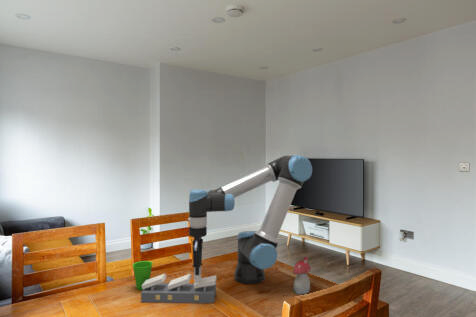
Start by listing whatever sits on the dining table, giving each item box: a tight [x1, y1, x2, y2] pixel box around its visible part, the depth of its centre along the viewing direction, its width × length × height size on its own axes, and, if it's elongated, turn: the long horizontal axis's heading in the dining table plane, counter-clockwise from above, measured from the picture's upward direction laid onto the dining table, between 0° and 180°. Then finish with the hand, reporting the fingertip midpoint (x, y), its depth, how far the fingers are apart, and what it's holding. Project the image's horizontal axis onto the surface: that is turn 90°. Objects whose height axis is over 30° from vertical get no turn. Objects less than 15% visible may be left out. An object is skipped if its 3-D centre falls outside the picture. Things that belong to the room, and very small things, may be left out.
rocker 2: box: [168, 273, 192, 290], centre depth 134 cm, size 9×6×2 cm, turn 89°
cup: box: [132, 260, 154, 291], centre depth 143 cm, size 9×9×11 cm
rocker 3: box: [194, 275, 217, 288], centre depth 134 cm, size 9×6×2 cm, turn 89°
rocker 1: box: [142, 273, 167, 289], centre depth 134 cm, size 9×6×2 cm, turn 88°
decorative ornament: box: [292, 256, 312, 296], centre depth 139 cm, size 9×7×15 cm
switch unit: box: [140, 282, 217, 304], centre depth 134 cm, size 30×10×5 cm, turn 89°
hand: (197, 281), depth 134 cm, fingers closed
